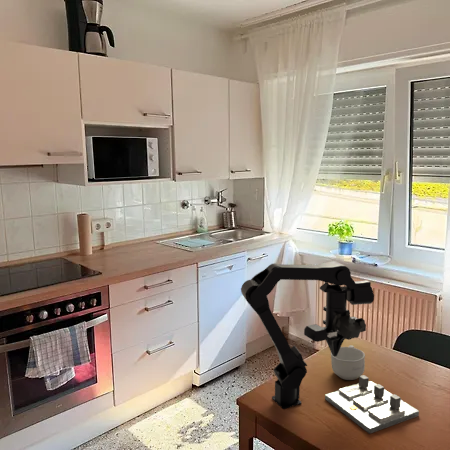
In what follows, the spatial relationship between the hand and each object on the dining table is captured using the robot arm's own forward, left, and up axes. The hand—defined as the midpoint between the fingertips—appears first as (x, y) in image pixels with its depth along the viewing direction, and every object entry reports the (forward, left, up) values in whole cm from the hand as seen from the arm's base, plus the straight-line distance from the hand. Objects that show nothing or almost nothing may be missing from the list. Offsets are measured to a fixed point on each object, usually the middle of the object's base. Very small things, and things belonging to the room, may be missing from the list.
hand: (334, 355), depth 124 cm
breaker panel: (+6, -9, -13) cm, 17 cm away
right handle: (+9, -15, -10) cm, 20 cm away
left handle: (+9, -3, -10) cm, 14 cm away
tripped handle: (+9, -9, -10) cm, 16 cm away
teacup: (+14, +9, -13) cm, 21 cm away
